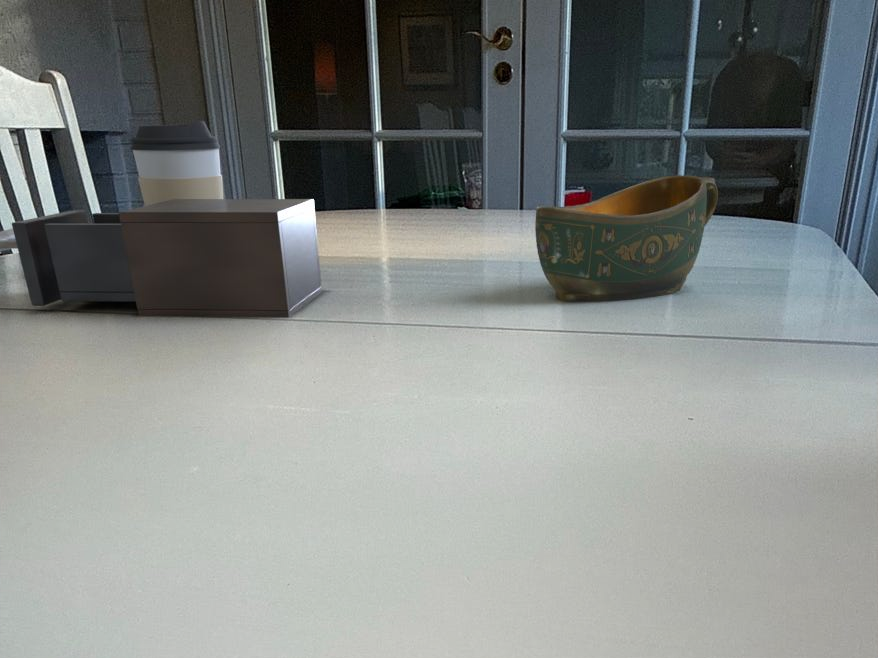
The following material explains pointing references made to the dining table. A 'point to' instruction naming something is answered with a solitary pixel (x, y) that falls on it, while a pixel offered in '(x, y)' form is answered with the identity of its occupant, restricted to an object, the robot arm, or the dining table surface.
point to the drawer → (72, 257)
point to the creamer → (626, 240)
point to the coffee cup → (177, 162)
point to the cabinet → (223, 257)
